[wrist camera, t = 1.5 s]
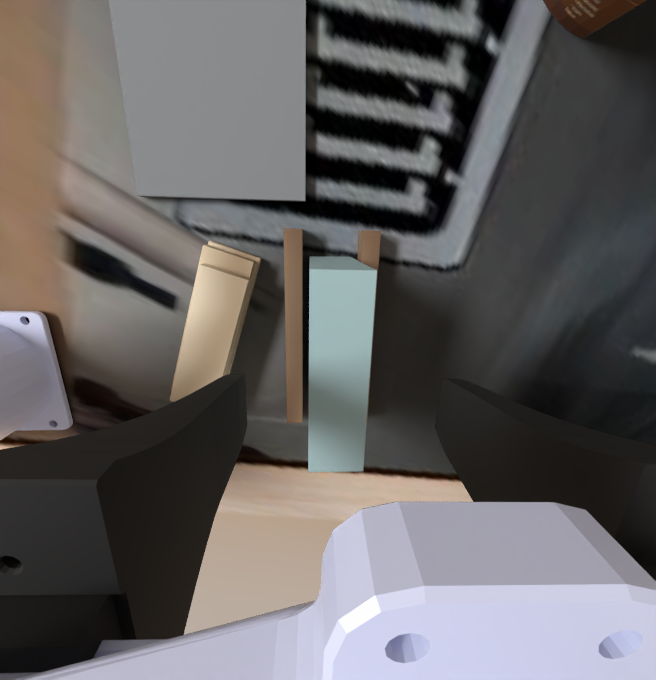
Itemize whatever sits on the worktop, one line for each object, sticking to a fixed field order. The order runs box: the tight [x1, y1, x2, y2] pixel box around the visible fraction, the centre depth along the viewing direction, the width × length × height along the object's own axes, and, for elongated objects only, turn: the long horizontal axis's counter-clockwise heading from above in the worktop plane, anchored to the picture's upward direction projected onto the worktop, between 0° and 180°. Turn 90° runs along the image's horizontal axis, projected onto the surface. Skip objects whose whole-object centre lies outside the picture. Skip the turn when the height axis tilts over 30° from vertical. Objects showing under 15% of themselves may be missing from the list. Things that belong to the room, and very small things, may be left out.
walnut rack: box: [284, 229, 381, 423], centre depth 20 cm, size 5×12×2 cm, turn 179°
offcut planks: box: [169, 241, 262, 402], centre depth 19 cm, size 3×10×3 cm, turn 161°
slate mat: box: [109, 0, 306, 202], centre depth 16 cm, size 9×11×1 cm
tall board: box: [308, 256, 377, 472], centre depth 17 cm, size 2×9×8 cm, turn 179°
